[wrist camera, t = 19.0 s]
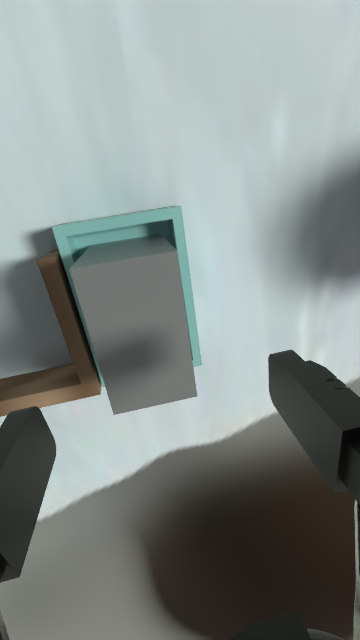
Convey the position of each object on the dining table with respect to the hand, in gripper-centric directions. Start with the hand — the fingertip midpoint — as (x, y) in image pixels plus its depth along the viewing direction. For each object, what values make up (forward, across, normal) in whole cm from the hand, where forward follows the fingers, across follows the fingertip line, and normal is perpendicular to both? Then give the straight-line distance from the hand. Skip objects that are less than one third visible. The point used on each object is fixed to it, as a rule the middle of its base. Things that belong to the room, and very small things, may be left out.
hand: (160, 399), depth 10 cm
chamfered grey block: (+11, +1, 0) cm, 11 cm away
